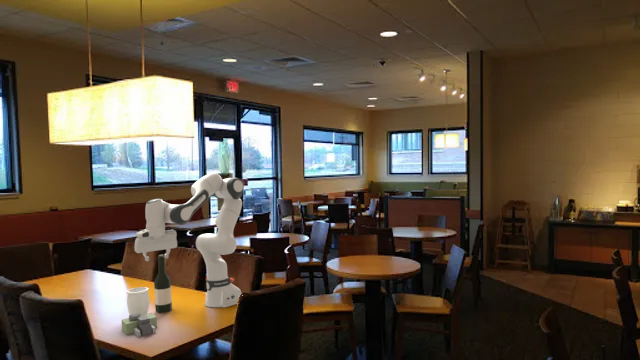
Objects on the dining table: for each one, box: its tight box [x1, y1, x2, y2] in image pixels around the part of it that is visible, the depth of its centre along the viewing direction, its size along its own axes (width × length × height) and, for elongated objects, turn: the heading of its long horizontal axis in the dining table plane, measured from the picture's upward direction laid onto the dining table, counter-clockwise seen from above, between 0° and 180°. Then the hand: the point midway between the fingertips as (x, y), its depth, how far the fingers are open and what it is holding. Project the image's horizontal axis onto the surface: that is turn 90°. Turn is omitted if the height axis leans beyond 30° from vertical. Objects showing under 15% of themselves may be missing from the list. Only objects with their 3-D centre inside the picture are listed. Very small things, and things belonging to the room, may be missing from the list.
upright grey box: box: [137, 316, 153, 337], centre depth 208 cm, size 4×7×7 cm, turn 38°
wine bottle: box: [153, 254, 173, 314], centre depth 240 cm, size 8×8×30 cm
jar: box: [126, 286, 150, 315], centre depth 228 cm, size 11×10×15 cm
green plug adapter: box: [121, 312, 158, 338], centre depth 211 cm, size 14×15×7 cm
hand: (157, 259), depth 223 cm, fingers open, 8 cm apart
